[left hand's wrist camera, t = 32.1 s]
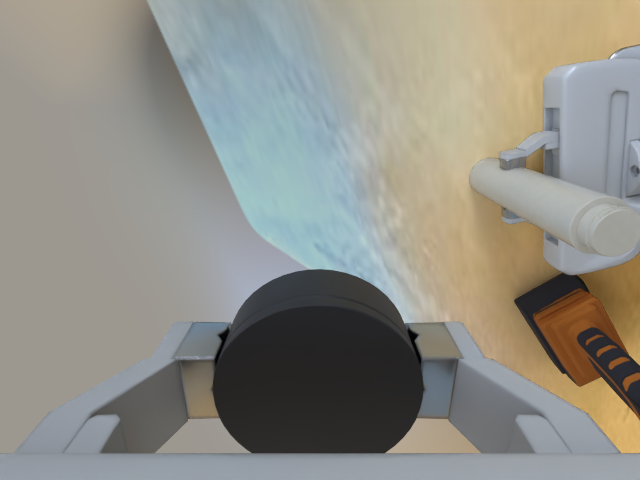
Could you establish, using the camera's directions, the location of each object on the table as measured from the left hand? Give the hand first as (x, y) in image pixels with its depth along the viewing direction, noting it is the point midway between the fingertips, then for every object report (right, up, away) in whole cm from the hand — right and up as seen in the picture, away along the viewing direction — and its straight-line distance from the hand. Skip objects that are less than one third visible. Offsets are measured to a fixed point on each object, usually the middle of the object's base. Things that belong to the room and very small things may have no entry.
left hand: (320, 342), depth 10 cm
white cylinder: (+19, +10, +31) cm, 38 cm away
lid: (0, -1, -2) cm, 2 cm away
